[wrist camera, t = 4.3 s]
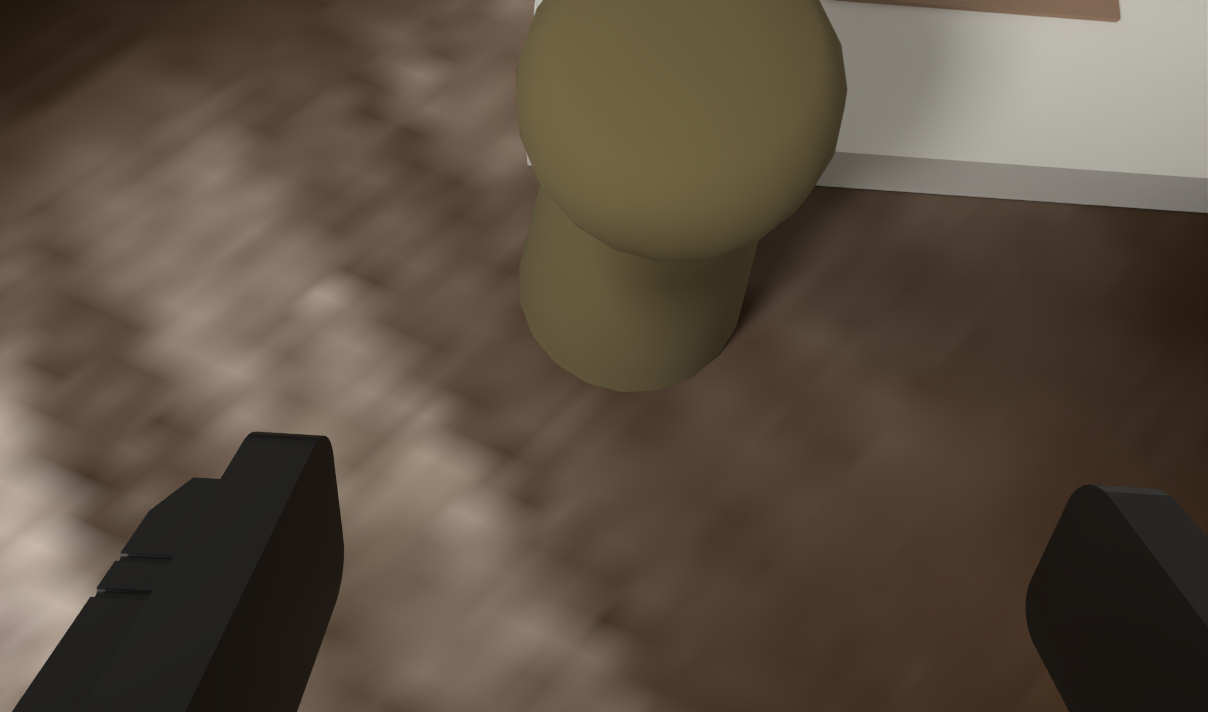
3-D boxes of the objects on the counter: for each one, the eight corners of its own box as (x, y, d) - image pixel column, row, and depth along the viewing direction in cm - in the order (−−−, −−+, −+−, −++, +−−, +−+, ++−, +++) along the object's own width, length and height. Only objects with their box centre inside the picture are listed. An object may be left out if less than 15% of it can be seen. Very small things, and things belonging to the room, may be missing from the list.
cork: (621, 134, 24) (673, -217, 13) (790, 275, 23) (991, 26, 12) (470, 287, 22) (386, 38, 12) (642, 441, 22) (722, 327, 11)
